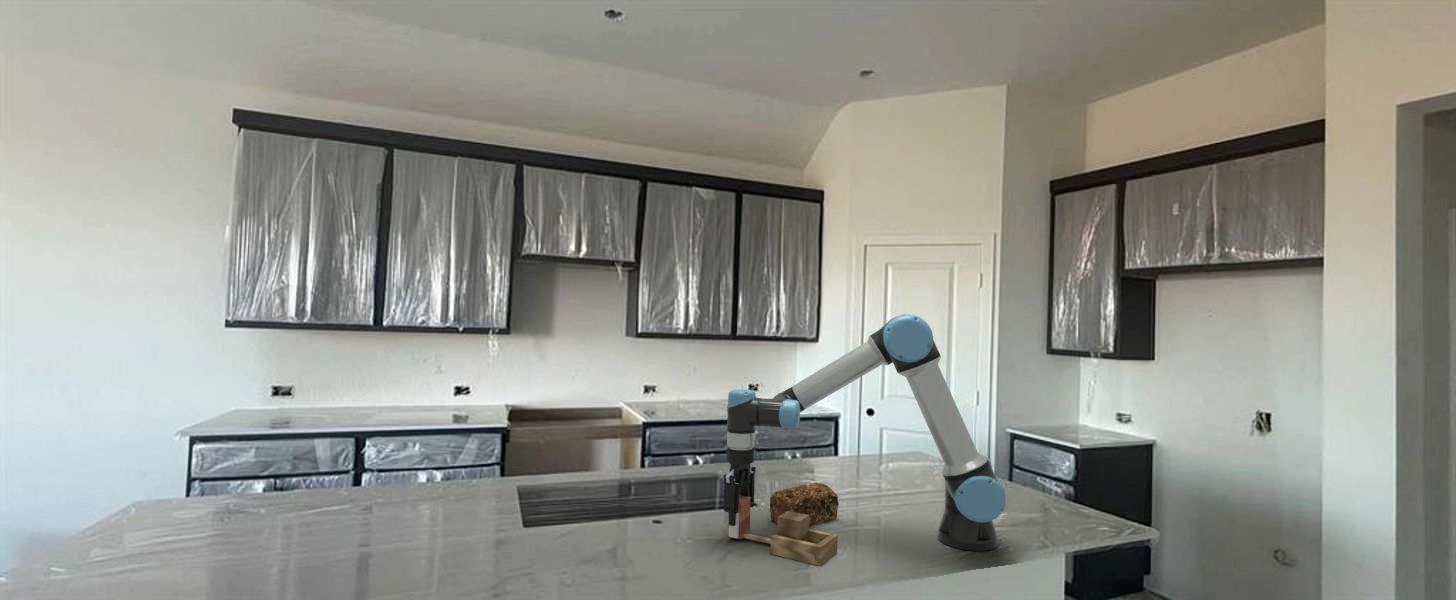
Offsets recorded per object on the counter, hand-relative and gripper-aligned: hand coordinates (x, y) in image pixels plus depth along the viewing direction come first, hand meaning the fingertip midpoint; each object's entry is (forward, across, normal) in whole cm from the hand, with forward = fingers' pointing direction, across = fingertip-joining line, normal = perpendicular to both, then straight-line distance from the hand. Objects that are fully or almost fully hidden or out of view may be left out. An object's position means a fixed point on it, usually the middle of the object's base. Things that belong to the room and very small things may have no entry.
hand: (738, 534), depth 171 cm
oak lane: (+1, 0, +18) cm, 18 cm away
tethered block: (0, 0, +9) cm, 9 cm away
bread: (+1, -24, +8) cm, 25 cm away
